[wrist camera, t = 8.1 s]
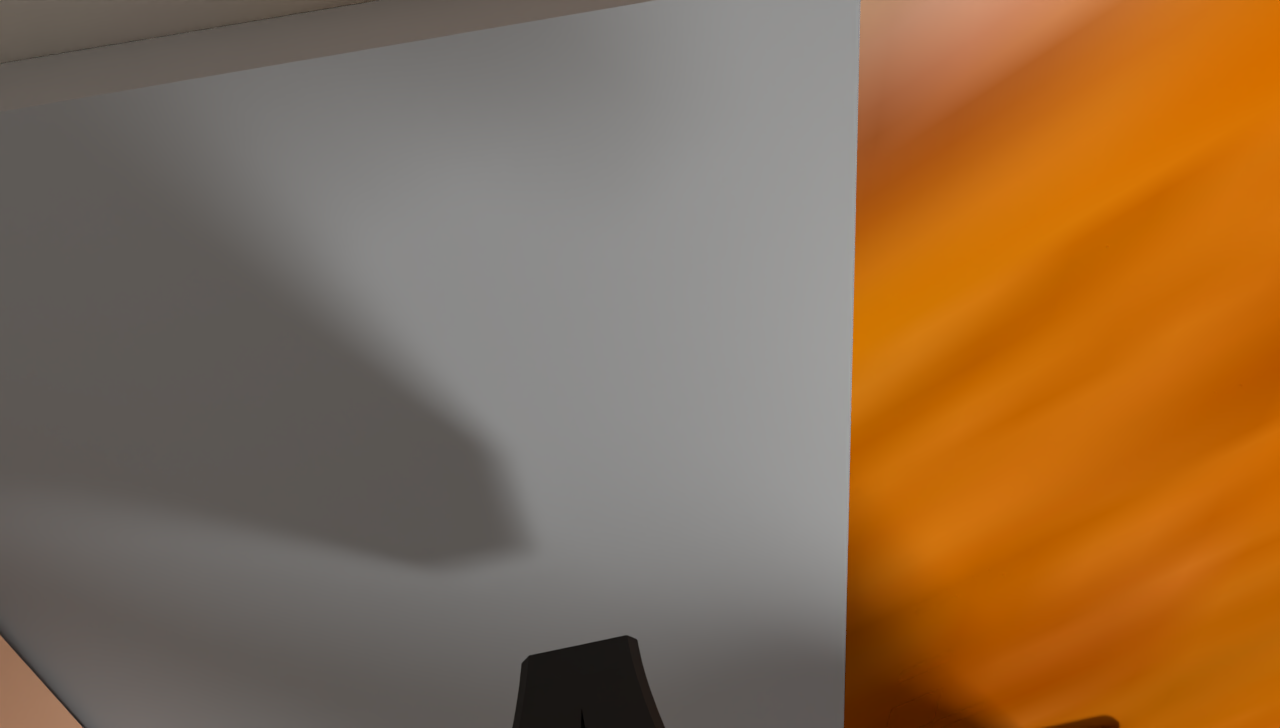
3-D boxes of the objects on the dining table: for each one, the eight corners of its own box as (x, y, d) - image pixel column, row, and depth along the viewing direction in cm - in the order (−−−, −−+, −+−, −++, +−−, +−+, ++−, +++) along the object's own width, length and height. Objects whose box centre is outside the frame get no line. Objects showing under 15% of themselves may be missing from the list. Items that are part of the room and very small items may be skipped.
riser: (811, 719, 19) (841, 807, 18) (268, 834, 19) (248, 936, 17) (799, -71, 10) (860, -35, 8) (-287, 111, 9) (-447, 187, 8)
